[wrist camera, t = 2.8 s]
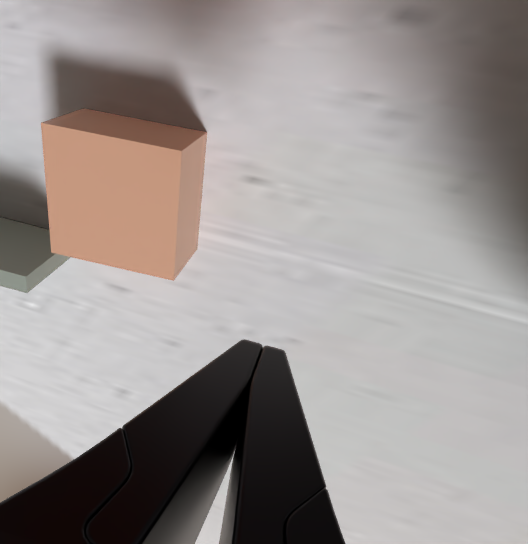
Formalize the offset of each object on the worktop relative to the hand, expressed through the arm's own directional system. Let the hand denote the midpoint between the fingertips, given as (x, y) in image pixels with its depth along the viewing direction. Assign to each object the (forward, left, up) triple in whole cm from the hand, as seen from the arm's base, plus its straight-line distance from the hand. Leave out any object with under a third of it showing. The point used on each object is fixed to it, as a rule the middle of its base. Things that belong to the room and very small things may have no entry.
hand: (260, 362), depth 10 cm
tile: (0, +5, -7) cm, 9 cm away
